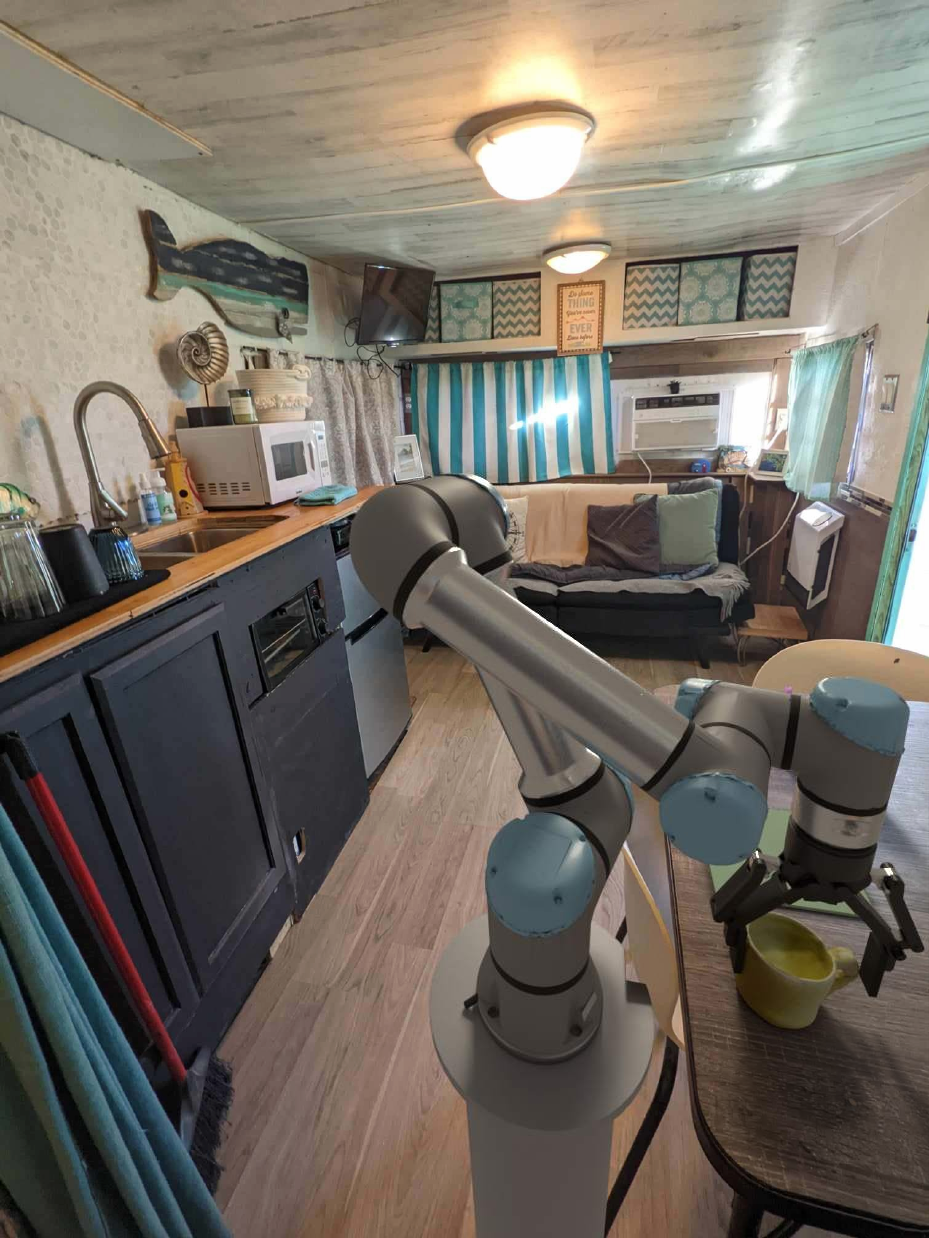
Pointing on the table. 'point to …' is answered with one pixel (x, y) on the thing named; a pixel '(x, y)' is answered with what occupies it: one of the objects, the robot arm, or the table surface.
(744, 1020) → the table surface
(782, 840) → the mat
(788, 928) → the mug
